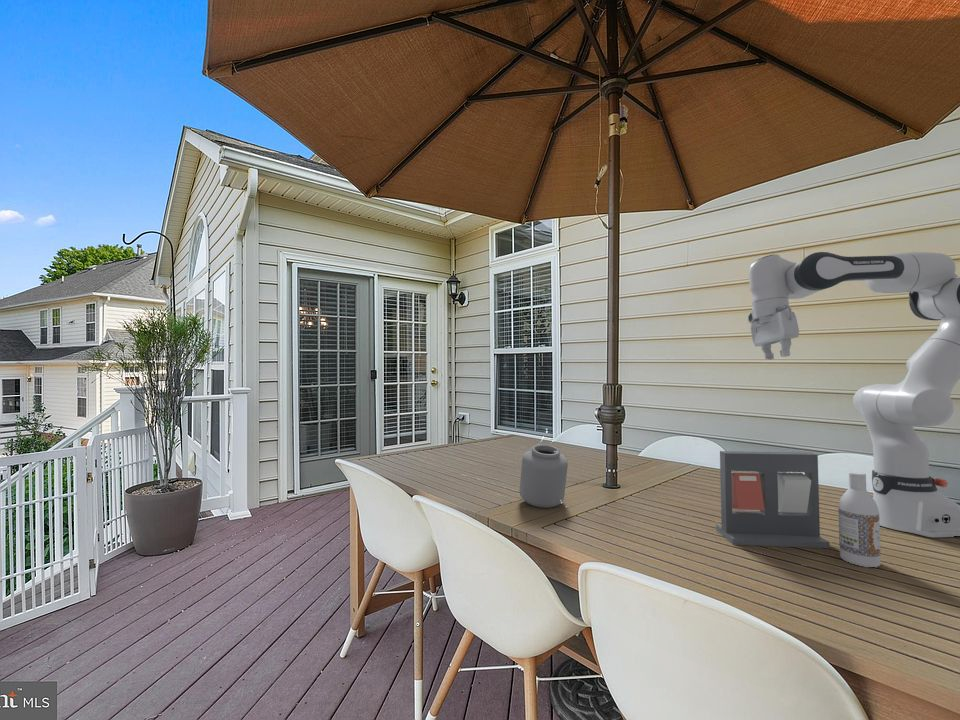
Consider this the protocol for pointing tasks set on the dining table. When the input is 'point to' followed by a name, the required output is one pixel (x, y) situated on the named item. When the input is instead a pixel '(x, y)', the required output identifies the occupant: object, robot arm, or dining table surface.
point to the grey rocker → (793, 492)
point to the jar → (543, 476)
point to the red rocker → (746, 491)
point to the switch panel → (770, 501)
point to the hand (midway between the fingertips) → (777, 358)
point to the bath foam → (859, 524)
